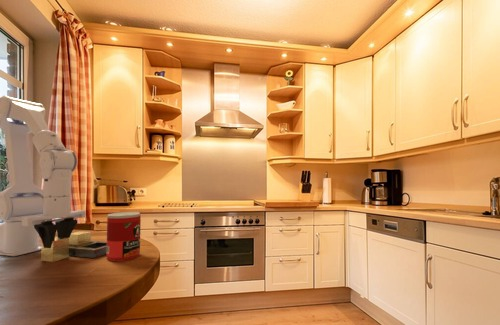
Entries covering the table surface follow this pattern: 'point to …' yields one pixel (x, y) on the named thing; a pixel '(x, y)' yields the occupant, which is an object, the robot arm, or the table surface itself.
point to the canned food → (123, 236)
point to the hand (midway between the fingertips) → (55, 250)
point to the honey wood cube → (56, 250)
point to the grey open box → (86, 245)
